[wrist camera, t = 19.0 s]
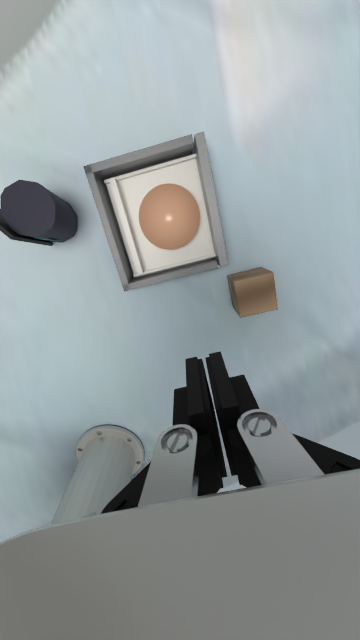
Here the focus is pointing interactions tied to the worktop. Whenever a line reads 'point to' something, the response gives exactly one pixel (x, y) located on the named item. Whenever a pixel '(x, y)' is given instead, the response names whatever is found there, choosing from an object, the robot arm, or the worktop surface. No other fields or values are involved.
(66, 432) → the worktop surface
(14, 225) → the speaker
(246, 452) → the robot arm
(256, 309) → the brown wooden cube
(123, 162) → the housing
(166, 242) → the tan domed disc
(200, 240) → the tray
